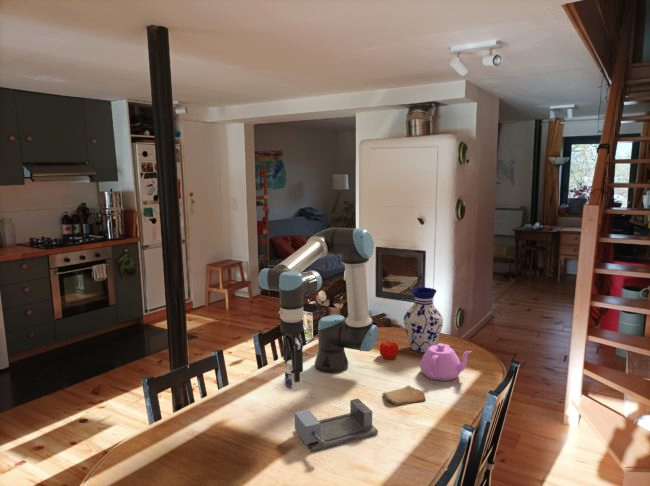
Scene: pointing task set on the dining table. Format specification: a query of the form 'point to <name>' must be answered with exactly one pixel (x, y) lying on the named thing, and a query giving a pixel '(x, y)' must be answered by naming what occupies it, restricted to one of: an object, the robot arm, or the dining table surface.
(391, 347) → the tomato
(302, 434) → the block
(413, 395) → the stone
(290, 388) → the pill bottle
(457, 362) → the teapot
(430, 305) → the vase
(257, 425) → the dining table surface
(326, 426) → the vise
